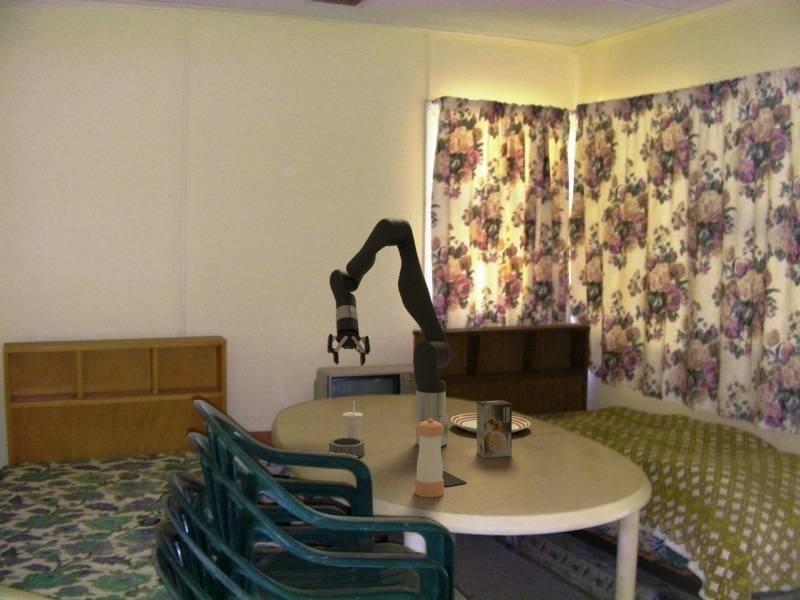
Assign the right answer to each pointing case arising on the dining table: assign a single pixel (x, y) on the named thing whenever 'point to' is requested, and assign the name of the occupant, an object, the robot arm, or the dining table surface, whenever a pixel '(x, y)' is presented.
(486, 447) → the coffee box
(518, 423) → the dinner plate
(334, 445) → the grey short hollow cylinder
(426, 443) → the salt shaker
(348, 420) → the smoothie
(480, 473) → the dining table surface
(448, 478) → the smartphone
